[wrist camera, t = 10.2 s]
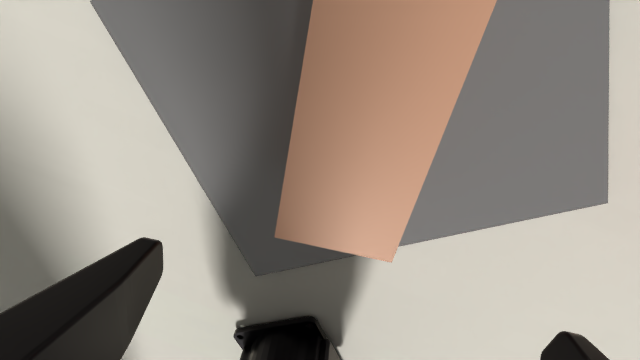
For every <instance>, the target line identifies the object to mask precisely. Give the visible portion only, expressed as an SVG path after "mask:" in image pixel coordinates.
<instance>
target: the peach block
mask: <svg viewBox="0 0 640 360" xmlns="http://www.w3.org/2000/svg"><path fill="white" fill-rule="evenodd" d="M496 1H497V0H313V4H312V10H311V16H310V23H309V29H308V35H307V41H306V47H305V53H304V59H303V65H302V71H301V78H300V84H299V90H298V96H297V102H296V108H295V114H294V120H293V127H292V133H291V139H290V145H289V151H288V157H287V163H286V169H285V175H284V182H283V188H282V194H281V200H280V206H279V212H278V218H277V224H276V231H275V238H280V239H284V240H289V241H294V242H298V243H303V244H308V245H312V246H317V247H322V248H326V249H331V250H336V251H340V252H345V253H350V254H354V255H359V256H364V257H368V258H373V259H378V260H382V261H387V262H392V260H393V258H394V255H395V253H396V250H397V248H398V245H399V243H400V240H401V238H402V235H403V233H404V230H405V228H406V225H407V223H408V220H409V218H410V215H411V213H412V210H413V208H414V206H415V203H416V201H417V198H418V196H419V193H420V191H421V188H422V186H423V183H424V181H425V178H426V176H427V173H428V171H429V168H430V166H431V163H432V161H433V158H434V156H435V153H436V151H437V148H438V146H439V143H440V141H441V138H442V136H443V133H444V131H445V128H446V126H447V123H448V121H449V118H450V116H451V113H452V111H453V108H454V106H455V103H456V101H457V99H458V96H459V94H460V91H461V89H462V86H463V84H464V81H465V79H466V76H467V74H468V71H469V69H470V66H471V64H472V61H473V59H474V56H475V54H476V51H477V49H478V46H479V44H480V41H481V39H482V36H483V34H484V31H485V29H486V26H487V24H488V21H489V19H490V16H491V14H492V11H493V9H494V6H495V4H496Z"/></svg>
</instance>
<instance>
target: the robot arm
mask: <svg viewBox="0 0 640 360" xmlns="http://www.w3.org/2000/svg"><path fill="white" fill-rule="evenodd" d="M162 272H163V246H162V243H161V242H160V241H159V240H154V239H150V238H145V237H143V238H139V239H137V240H136V241H134V242H132V243H130V244H128V245H126V246H124V247H123V248H121V249H119V250H117V251H115V252H113V253H111V254H110V255H108V256H106V257H104V258H102V259H100V260H98V261H97V262H95V263H93V264H91V265H89V266H87V267H85V268H84V269H82V270H80V271H78V272H76V273H74V274H72V275H71V276H69V277H67V278H65V279H63V280H61V281H59V282H58V283H56V284H54V285H52V286H50V287H48V288H46V289H45V290H43V291H41V292H39V293H37V294H35V295H34V296H32V297H30V298H28V299H26V300H24V301H22V302H21V303H19V304H17V305H15V306H13V307H11V308H9V309H8V310H6V311H4V312H2V313H0V360H120V359H121V358H122V356H123V354H124V352H125V351H126V349H127V347H128V345H129V344H130V342H131V340H132V338H133V336H134V334H135V332H136V330H137V327H138V325H139V323H140V321H141V319H142V317H143V315H144V312H145V310H146V308H147V306H148V304H149V302H150V300H151V298H152V295H153V293H154V291H155V289H156V287H157V285H158V283H159V280H160V278H161V276H162ZM234 338H235V340H236V341H237V343H238V344H239V345H240V347H241V348H242V350H243V351H242V355H241V358H240V360H340V358H339V356H338V355H337V353H336V351H335V349H334V347H333V345H332V343H331V341H329V340H328V339H327V338H326V336H325V334H324V332H323V330H322V328H321V327H320V325H319V323H318V321H317V320H316V318H314V317H302V318H296V319H291V320H285V321H279V322H273V323H267V324H261V325H255V326H249V327H243V328H238V329H236V330H235V333H234ZM540 360H609V359H608V358H607V357H606V356H605V355H604V354H603V353H602V352H600V351H599V350H598V349H597V348H596V347H595V346H594V345H593V344H592V343H591V342H589V341H588V340H587V339H586V338H585V337H583V336H582V335H579V334H575V333H571V332H566V331H562V332H560V333H558V334H557V335H556V336H555V337H554V339H553V340H552V341H551V342H550V343H549V344H548V345H547V347H546V348H545V349H544V350H543V351H542V354H541V358H540Z"/></svg>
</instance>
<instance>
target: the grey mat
mask: <svg viewBox="0 0 640 360" xmlns="http://www.w3.org/2000/svg"><path fill="white" fill-rule="evenodd" d="M90 2H91V4H92V6H93V7H94V9H95V11H96V12H97V14H98V16H99V17H100V19H101V21H102V22H103V24H104V26H105V27H106V29H107V31H108V32H109V34H110V36H111V37H112V39H113V41H114V42H115V44H116V45H117V47H118V49H119V50H120V52H121V54H122V55H123V57H124V59H125V60H126V62H127V64H128V65H129V67H130V69H131V70H132V72H133V74H134V75H135V77H136V79H137V80H138V82H139V84H140V85H141V87H142V89H143V90H144V92H145V94H146V95H147V97H148V99H149V100H150V102H151V104H152V105H153V107H154V109H155V110H156V112H157V114H158V115H159V117H160V119H161V120H162V122H163V123H164V125H165V127H166V128H167V130H168V132H169V133H170V135H171V137H172V138H173V140H174V142H175V143H176V145H177V147H178V148H179V150H180V152H181V153H182V155H183V157H184V158H185V160H186V162H187V163H188V165H189V167H190V168H191V170H192V172H193V173H194V175H195V177H196V178H197V180H198V182H199V183H200V185H201V187H202V188H203V190H204V192H205V193H206V195H207V197H208V198H209V200H210V201H211V203H212V205H213V206H214V208H215V210H216V211H217V213H218V215H219V216H220V218H221V220H222V221H223V223H224V225H225V226H226V228H227V230H228V231H229V233H230V235H231V236H232V238H233V240H234V241H235V243H236V245H237V246H238V248H239V250H240V251H241V253H242V255H243V256H244V258H245V260H246V261H247V263H248V265H249V266H250V268H251V270H252V271H253V273H254V275H255V276H259V275H264V274H269V273H274V272H278V271H283V270H288V269H293V268H298V267H303V266H307V265H312V264H317V263H322V262H327V261H331V260H336V259H341V258H346V257H351V256H355V255H354V254H350V253H345V252H340V251H336V250H331V249H326V248H322V247H317V246H312V245H308V244H303V243H298V242H294V241H289V240H284V239H280V238H275V231H276V224H277V218H278V212H279V206H280V200H281V194H282V188H283V182H284V175H285V169H286V163H287V157H288V151H289V145H290V139H291V133H292V127H293V120H294V114H295V108H296V102H297V96H298V90H299V84H300V78H301V71H302V65H303V59H304V53H305V47H306V41H307V35H308V29H309V23H310V16H311V10H312V4H313V0H91V1H90ZM608 110H609V0H497V1H496V4H495V6H494V9H493V11H492V14H491V16H490V19H489V21H488V24H487V26H486V29H485V31H484V34H483V36H482V39H481V41H480V44H479V46H478V49H477V51H476V54H475V56H474V59H473V61H472V64H471V66H470V69H469V71H468V74H467V76H466V79H465V81H464V84H463V86H462V89H461V91H460V94H459V96H458V99H457V101H456V103H455V106H454V108H453V111H452V113H451V116H450V118H449V121H448V123H447V126H446V128H445V131H444V133H443V136H442V138H441V141H440V143H439V146H438V148H437V151H436V153H435V156H434V158H433V161H432V163H431V166H430V168H429V171H428V173H427V176H426V178H425V181H424V183H423V186H422V188H421V191H420V193H419V196H418V198H417V201H416V203H415V206H414V208H413V210H412V213H411V215H410V218H409V220H408V223H407V225H406V228H405V230H404V233H403V235H402V238H401V240H400V243H399V245H398V247H399V246H404V245H408V244H413V243H418V242H423V241H428V240H432V239H437V238H442V237H447V236H452V235H456V234H461V233H466V232H471V231H476V230H480V229H485V228H490V227H495V226H500V225H505V224H509V223H514V222H519V221H524V220H529V219H533V218H538V217H543V216H548V215H553V214H557V213H562V212H567V211H572V210H577V209H581V208H586V207H591V206H596V205H601V204H606V203H608Z"/></svg>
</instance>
